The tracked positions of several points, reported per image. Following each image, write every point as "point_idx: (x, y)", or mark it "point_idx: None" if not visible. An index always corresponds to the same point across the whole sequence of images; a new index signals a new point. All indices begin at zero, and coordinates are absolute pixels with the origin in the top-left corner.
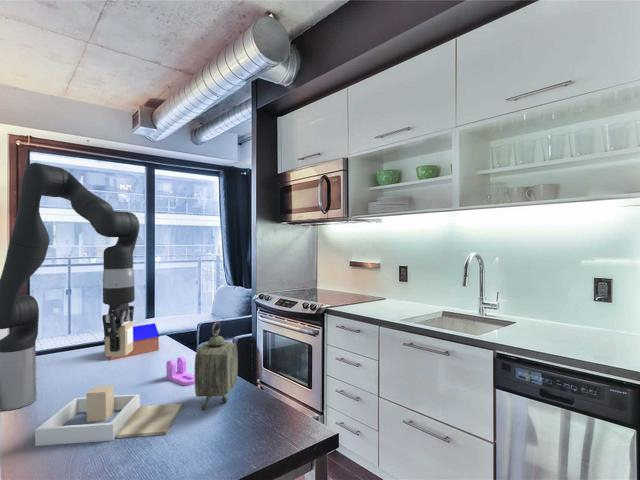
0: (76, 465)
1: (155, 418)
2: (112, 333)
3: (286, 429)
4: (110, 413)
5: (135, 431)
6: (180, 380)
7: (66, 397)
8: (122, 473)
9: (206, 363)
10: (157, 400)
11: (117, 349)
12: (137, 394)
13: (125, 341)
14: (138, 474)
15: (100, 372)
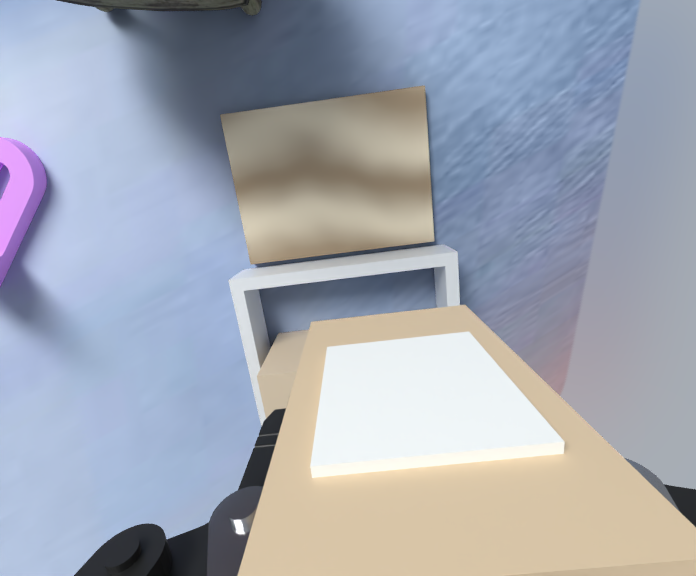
0: (552, 270)
1: (336, 166)
2: None
3: None
4: (300, 333)
5: (417, 193)
6: (23, 208)
7: (198, 510)
8: (611, 125)
9: None
10: (187, 233)
11: None
12: (233, 286)
13: (513, 359)
14: (625, 74)
15: (8, 527)
